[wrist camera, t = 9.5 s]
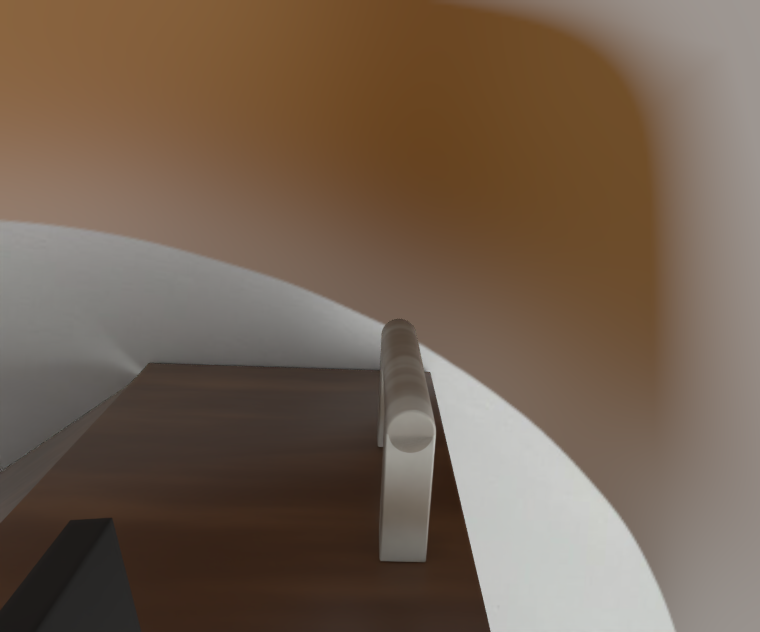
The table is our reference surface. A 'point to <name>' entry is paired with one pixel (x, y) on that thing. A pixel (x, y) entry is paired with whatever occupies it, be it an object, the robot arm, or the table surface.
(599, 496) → the table surface
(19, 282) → the table surface
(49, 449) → the cupboard
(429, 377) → the cupboard door
